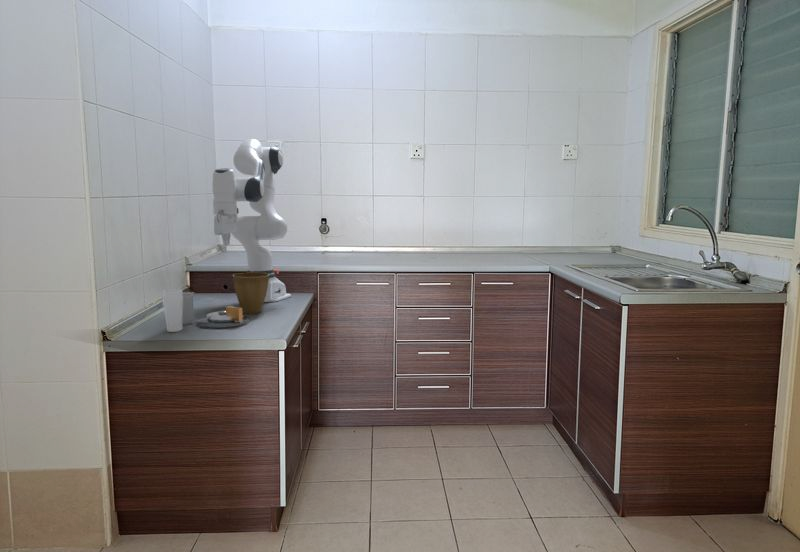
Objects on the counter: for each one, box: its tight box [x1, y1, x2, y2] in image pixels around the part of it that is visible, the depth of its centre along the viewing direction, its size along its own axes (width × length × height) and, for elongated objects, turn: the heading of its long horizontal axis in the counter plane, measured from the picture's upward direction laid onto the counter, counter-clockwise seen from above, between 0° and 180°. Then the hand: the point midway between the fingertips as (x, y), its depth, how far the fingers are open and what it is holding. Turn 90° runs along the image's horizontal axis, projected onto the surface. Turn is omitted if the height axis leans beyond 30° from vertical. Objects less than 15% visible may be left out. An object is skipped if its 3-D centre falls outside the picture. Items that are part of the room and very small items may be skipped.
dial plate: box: [197, 314, 250, 330], centre depth 225 cm, size 19×19×2 cm
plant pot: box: [232, 272, 269, 315], centre depth 244 cm, size 15×15×16 cm
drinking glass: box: [162, 288, 184, 333], centre depth 211 cm, size 7×7×15 cm
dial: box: [206, 305, 243, 323], centre depth 223 cm, size 16×12×5 cm
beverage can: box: [182, 291, 195, 326], centre depth 223 cm, size 6×6×12 cm
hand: (226, 244), depth 232 cm, fingers closed
